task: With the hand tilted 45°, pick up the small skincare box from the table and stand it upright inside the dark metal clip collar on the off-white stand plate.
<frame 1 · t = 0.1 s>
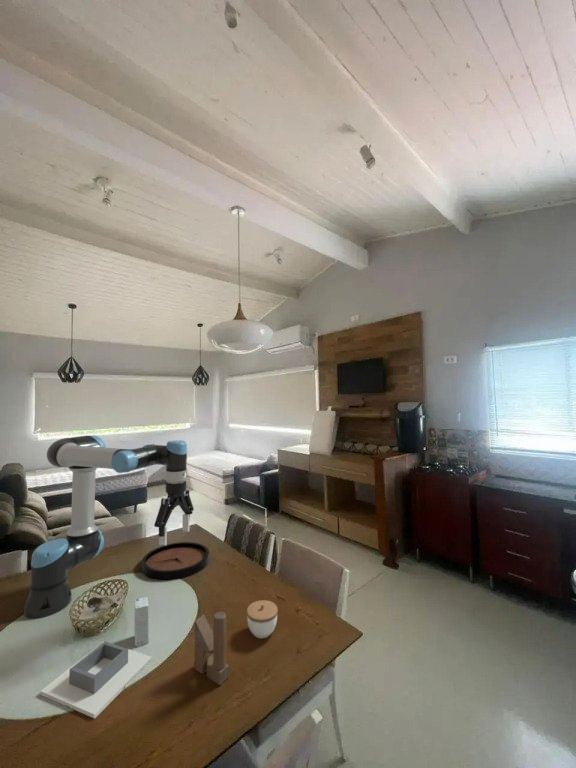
hand: (174, 537, 127), 28 cm above the table, tool pointing down, fingers open, 13 cm apart
wall clock: (176, 564, 164), on the table
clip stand: (99, 676, 97), on the table
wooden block: (211, 674, 98), on the table
lidded jar: (262, 632, 115), on the table
skincare box: (141, 639, 112), on the table
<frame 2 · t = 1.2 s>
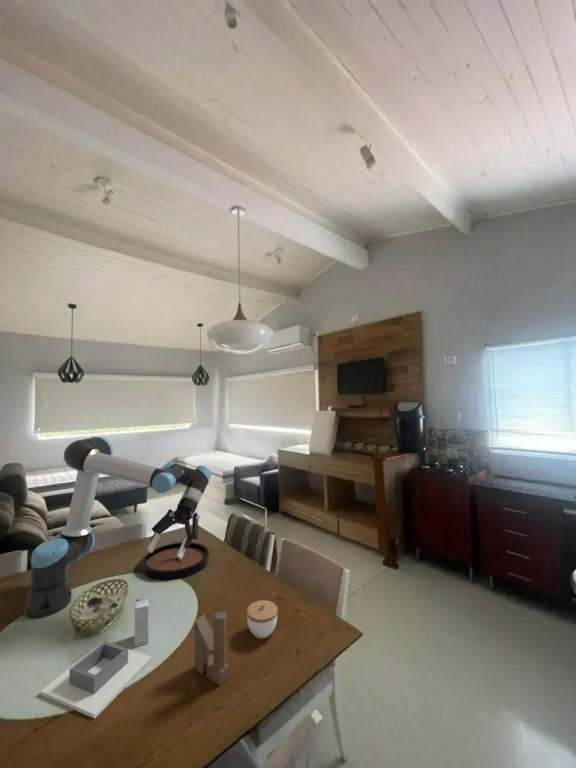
hand: (164, 554, 123), 24 cm above the table, tool tilted 45°, fingers open, 13 cm apart
nothing on the table moved.
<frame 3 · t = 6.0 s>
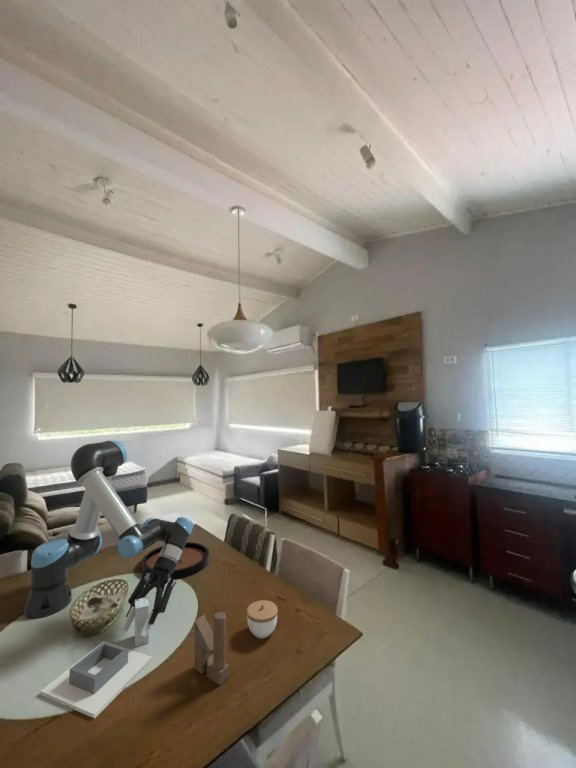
hand: (133, 632, 109), 4 cm above the table, tool tilted 45°, fingers closed on skincare box, 7 cm apart
skincare box: (141, 639, 112), on the table, touching gripper
everything else where it was.
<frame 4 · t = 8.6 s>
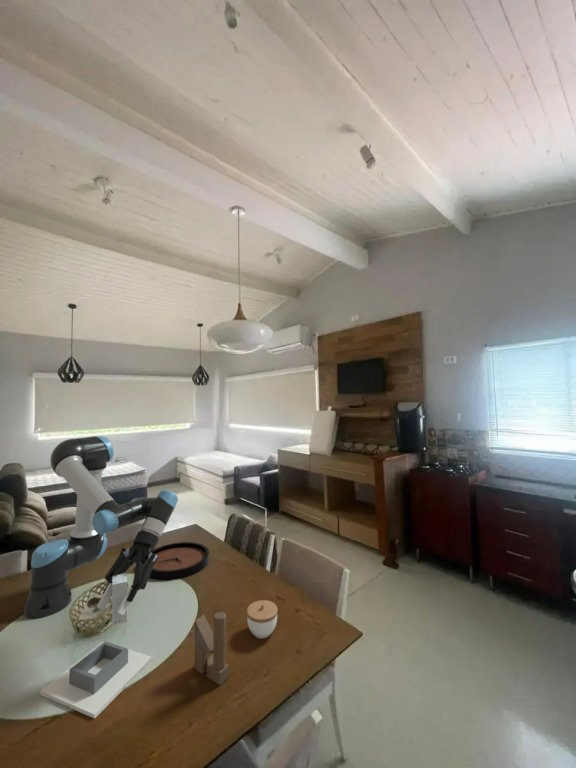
hand: (110, 610, 99), 18 cm above the table, tool tilted 45°, fingers closed on skincare box, 7 cm apart
skincare box: (119, 618, 102), point 13 cm above the table, touching gripper
everything else where it was.
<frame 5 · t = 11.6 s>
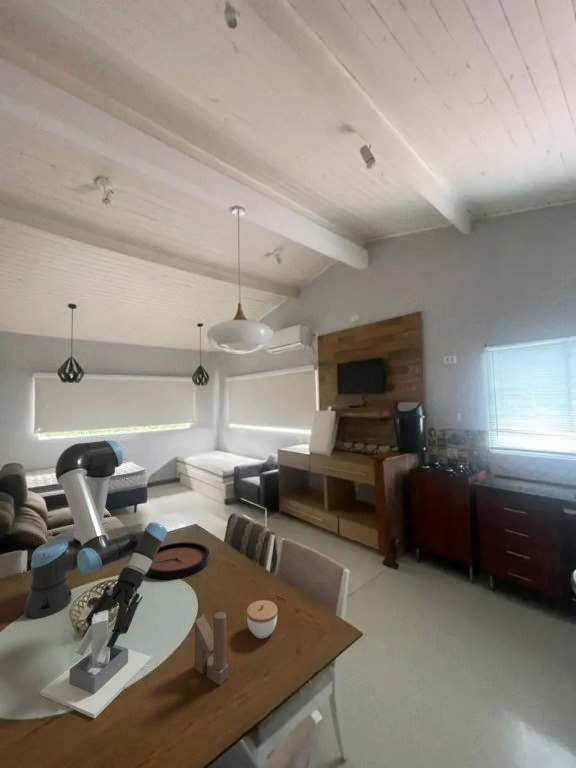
hand: (89, 657, 94), 8 cm above the table, tool tilted 45°, fingers closed on skincare box, 7 cm apart
skincare box: (100, 660, 97), point 5 cm above the table, touching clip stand, gripper
everything else where it was.
when the fingers open (7 cm above the table, at t = 12.3 s): skincare box drops 1 cm, resting on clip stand.
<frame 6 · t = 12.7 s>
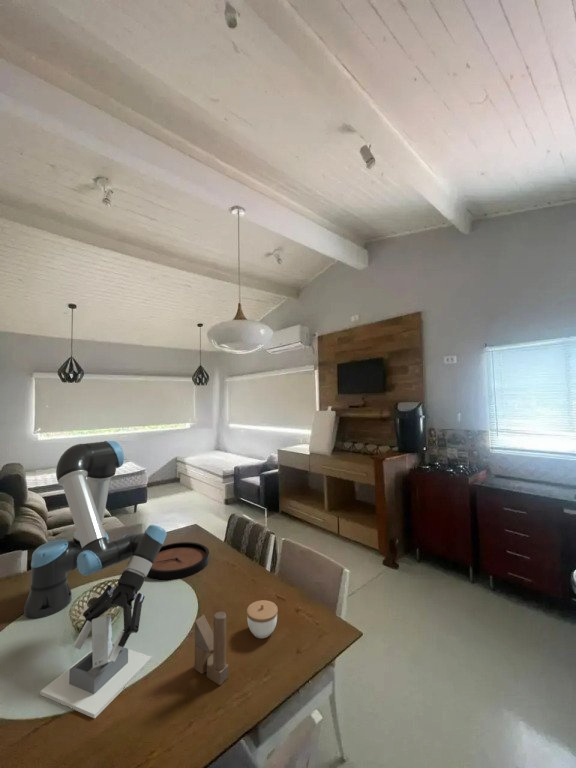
hand: (93, 654, 95), 8 cm above the table, tool tilted 45°, fingers open, 13 cm apart
skincare box: (102, 665, 97), point 3 cm above the table, touching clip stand
everything else where it was.
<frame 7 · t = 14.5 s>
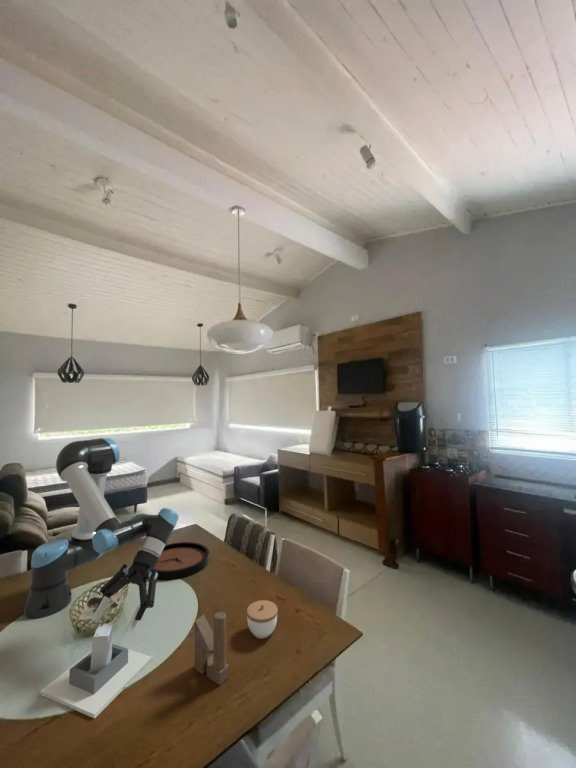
hand: (110, 627, 100), 12 cm above the table, tool tilted 45°, fingers open, 13 cm apart
skincare box: (100, 673, 97), point 1 cm above the table, touching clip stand
everything else where it was.
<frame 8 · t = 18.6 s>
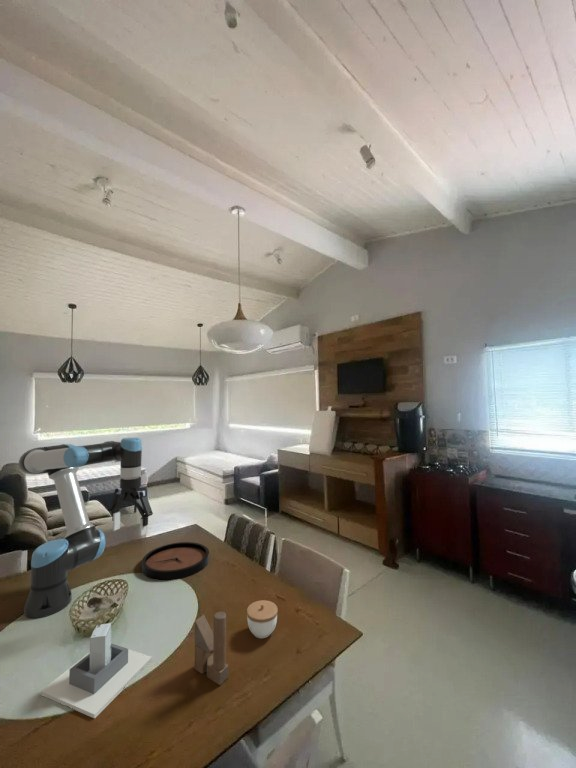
hand: (129, 531, 131), 29 cm above the table, tool pointing down, fingers open, 13 cm apart
nothing on the table moved.
at the end: skincare box 0.1 cm off-centre on the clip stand, point 0.8 cm above the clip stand's base; skincare box tilted 0°; the gripper is holding nothing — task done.
